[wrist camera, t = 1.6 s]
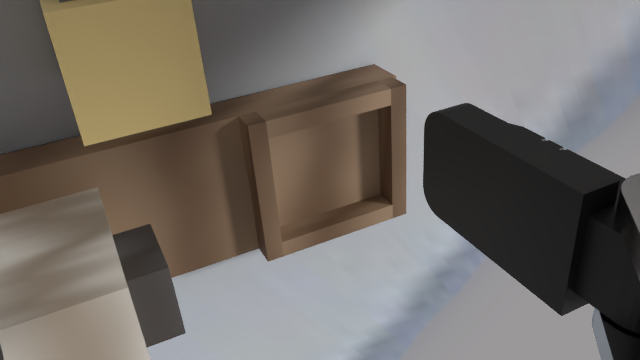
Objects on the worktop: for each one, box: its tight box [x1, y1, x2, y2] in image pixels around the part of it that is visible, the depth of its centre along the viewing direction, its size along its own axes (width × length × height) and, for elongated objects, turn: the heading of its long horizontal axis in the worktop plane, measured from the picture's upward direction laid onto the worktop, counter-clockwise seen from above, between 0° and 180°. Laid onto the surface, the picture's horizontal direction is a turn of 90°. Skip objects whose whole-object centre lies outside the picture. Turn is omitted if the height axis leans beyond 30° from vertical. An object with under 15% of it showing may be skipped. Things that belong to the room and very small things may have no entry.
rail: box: [0, 64, 406, 360], centre depth 24 cm, size 20×7×9 cm, turn 95°
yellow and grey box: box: [39, 0, 212, 146], centre depth 20 cm, size 5×4×7 cm
